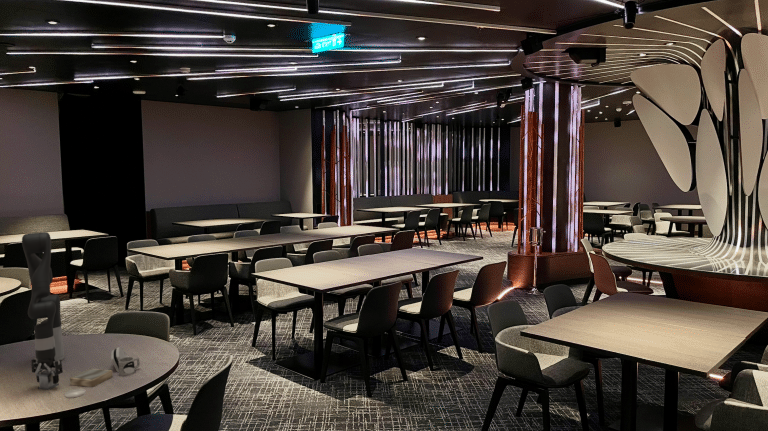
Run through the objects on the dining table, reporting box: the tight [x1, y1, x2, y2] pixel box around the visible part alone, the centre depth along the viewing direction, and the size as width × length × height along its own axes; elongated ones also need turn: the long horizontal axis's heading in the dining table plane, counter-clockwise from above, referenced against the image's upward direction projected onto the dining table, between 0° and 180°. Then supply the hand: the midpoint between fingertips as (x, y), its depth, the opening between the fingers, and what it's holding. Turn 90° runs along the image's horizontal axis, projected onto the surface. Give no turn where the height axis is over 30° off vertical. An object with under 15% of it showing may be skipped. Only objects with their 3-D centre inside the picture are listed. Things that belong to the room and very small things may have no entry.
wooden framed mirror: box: [69, 368, 114, 388], centre depth 255 cm, size 12×12×3 cm
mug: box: [118, 356, 141, 377], centre depth 265 cm, size 10×7×7 cm, turn 148°
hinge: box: [110, 346, 131, 373], centre depth 273 cm, size 17×5×10 cm, turn 20°
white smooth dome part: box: [64, 387, 87, 399], centre depth 241 cm, size 8×8×1 cm
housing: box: [37, 370, 59, 391], centre depth 249 cm, size 6×6×7 cm
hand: (48, 382), depth 249 cm, fingers open, 8 cm apart
